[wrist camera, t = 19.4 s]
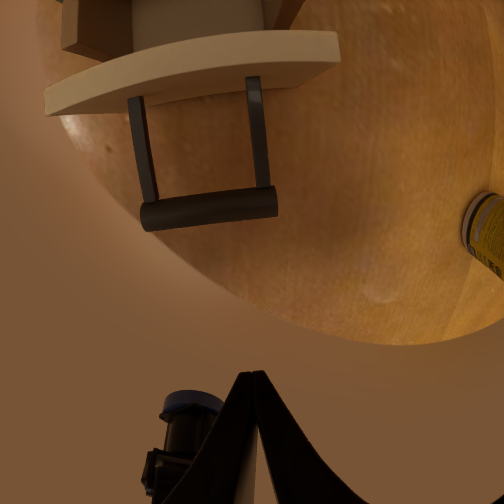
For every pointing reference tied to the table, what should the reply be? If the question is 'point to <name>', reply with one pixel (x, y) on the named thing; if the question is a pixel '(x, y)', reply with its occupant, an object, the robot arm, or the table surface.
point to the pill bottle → (486, 231)
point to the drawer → (188, 80)
